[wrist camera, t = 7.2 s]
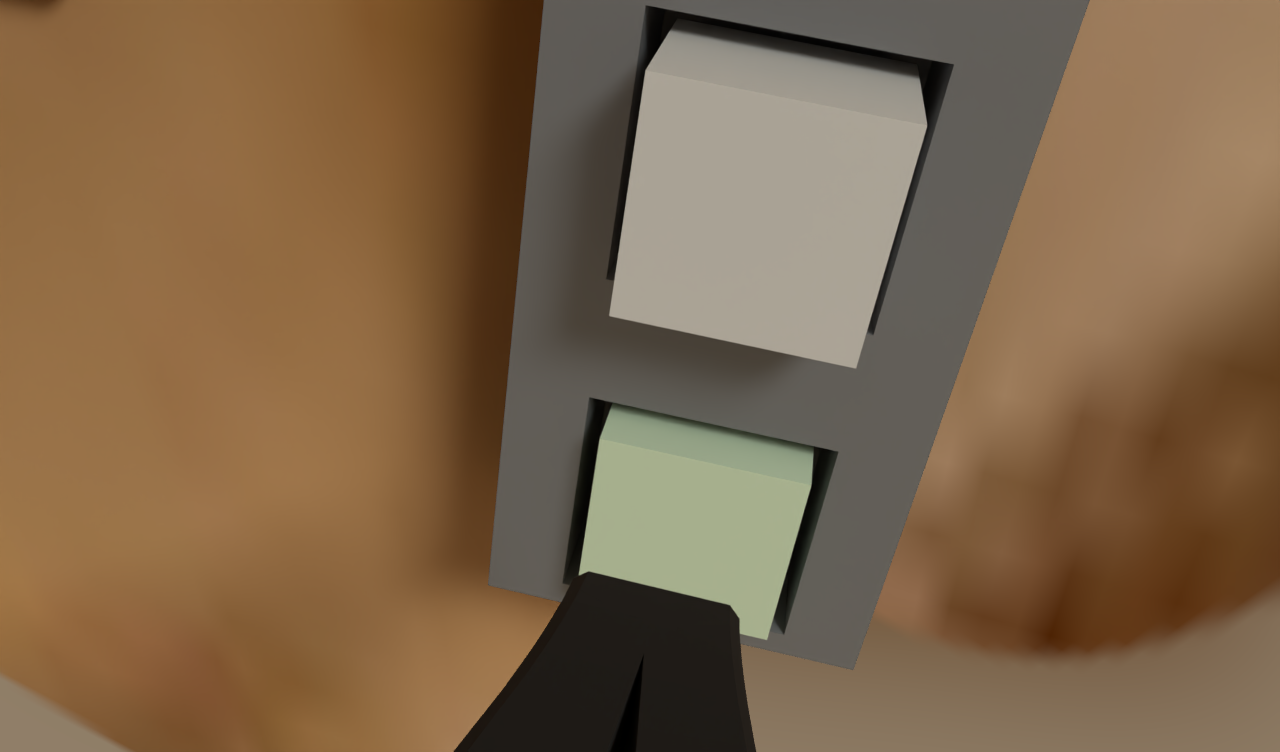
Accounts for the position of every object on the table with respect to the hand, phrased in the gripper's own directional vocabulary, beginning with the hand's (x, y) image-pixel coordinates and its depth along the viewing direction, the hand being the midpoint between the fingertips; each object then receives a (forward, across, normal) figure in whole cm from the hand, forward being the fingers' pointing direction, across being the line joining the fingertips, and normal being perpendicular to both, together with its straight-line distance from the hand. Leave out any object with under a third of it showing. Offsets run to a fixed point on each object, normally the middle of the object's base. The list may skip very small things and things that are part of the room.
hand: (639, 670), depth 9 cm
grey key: (+7, 0, -2) cm, 7 cm away
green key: (+8, 0, +3) cm, 9 cm away
